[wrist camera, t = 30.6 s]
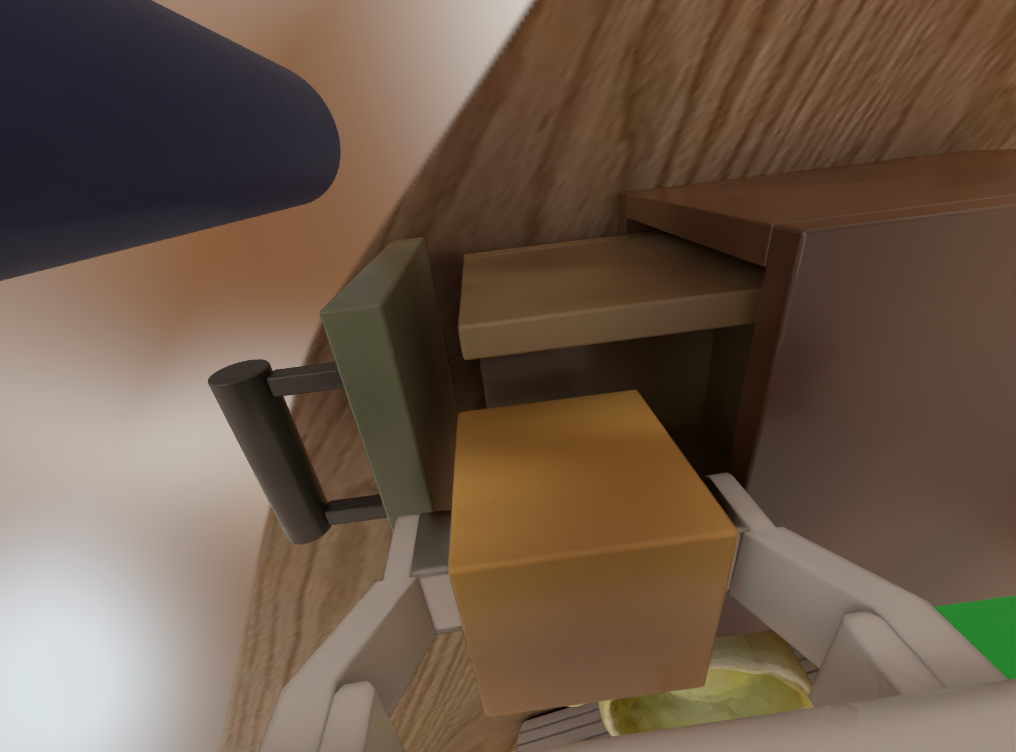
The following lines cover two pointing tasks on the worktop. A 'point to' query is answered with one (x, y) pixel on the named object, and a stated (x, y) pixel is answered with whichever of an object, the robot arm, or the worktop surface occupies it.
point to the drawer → (503, 361)
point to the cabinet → (874, 361)
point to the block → (583, 554)
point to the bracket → (988, 629)
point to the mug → (721, 689)
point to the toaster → (590, 720)
